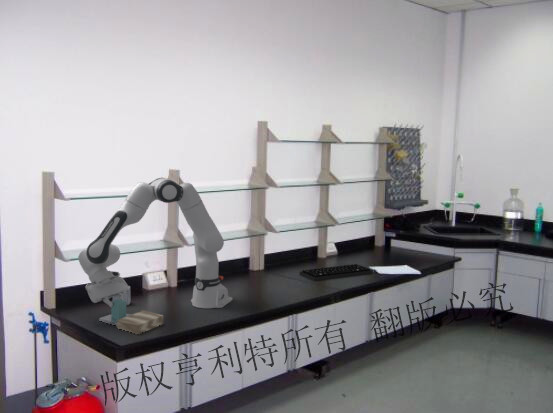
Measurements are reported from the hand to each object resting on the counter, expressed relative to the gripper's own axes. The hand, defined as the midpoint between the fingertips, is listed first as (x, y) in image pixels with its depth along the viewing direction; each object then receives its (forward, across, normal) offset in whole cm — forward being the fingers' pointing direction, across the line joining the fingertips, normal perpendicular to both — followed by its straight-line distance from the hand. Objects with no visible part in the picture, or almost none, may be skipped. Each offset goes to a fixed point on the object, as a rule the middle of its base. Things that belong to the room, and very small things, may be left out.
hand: (117, 304), depth 251 cm
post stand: (+6, 0, +5) cm, 7 cm away
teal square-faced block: (+5, 0, +4) cm, 6 cm away
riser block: (+15, 0, -5) cm, 16 cm away
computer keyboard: (+40, +138, -28) cm, 147 cm away
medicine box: (-5, +18, +16) cm, 25 cm away
